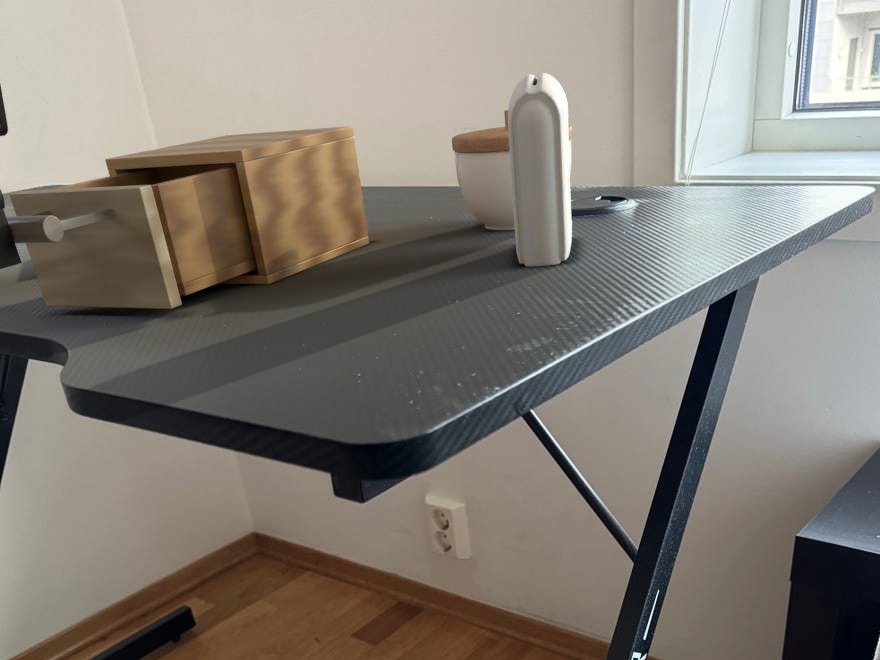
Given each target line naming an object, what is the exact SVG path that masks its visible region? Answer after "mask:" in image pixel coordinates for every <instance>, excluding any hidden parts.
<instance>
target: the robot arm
mask: <svg viewBox="0 0 880 660" xmlns="http://www.w3.org/2000/svg"><path fill="white" fill-rule="evenodd" d="M8 132H9V125H8V120H7V113H6V108H5V103H4V97H3V90H2V86H1V84H0V137H4V136H6V135H8ZM5 208H6V205H5V197H4V194H3V192H2V189H0V270H2V269H6V268H9V267H12V266H17V265H20V264H22V260H21V257H20V253H19V251H18V248H17V245H16V243H15V242H14V239H13V236H12V233H11V230H10V227H9V224H8V221H7V218H6V217H7V215H6V213H5V210H4V209H5Z"/></svg>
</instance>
